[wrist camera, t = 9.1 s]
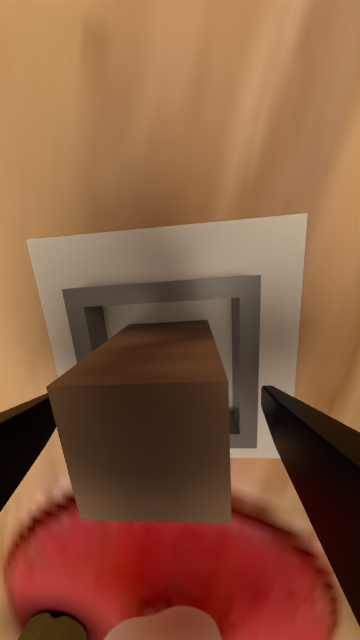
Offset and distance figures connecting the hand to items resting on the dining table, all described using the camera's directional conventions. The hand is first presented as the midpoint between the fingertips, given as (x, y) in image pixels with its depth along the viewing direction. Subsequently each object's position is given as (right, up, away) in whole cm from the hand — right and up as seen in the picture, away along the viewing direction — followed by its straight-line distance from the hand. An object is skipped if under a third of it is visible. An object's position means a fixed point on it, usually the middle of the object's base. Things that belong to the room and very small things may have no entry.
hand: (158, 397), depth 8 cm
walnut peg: (0, +1, +4) cm, 4 cm away
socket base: (0, +1, +5) cm, 5 cm away
